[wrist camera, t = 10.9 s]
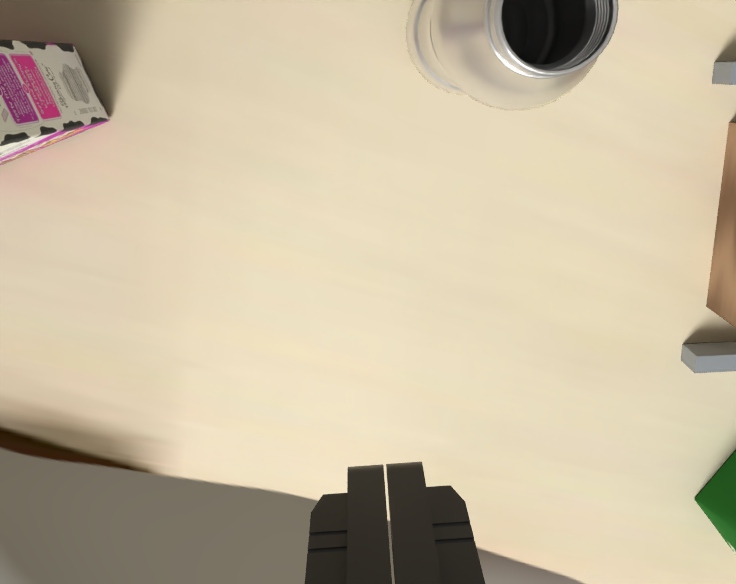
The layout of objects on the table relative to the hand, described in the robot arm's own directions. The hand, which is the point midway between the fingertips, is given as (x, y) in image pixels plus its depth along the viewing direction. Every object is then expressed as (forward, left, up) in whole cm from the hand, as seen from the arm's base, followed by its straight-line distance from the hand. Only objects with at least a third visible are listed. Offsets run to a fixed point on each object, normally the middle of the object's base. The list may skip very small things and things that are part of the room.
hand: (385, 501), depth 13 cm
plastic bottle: (-9, +6, -30) cm, 32 cm away
